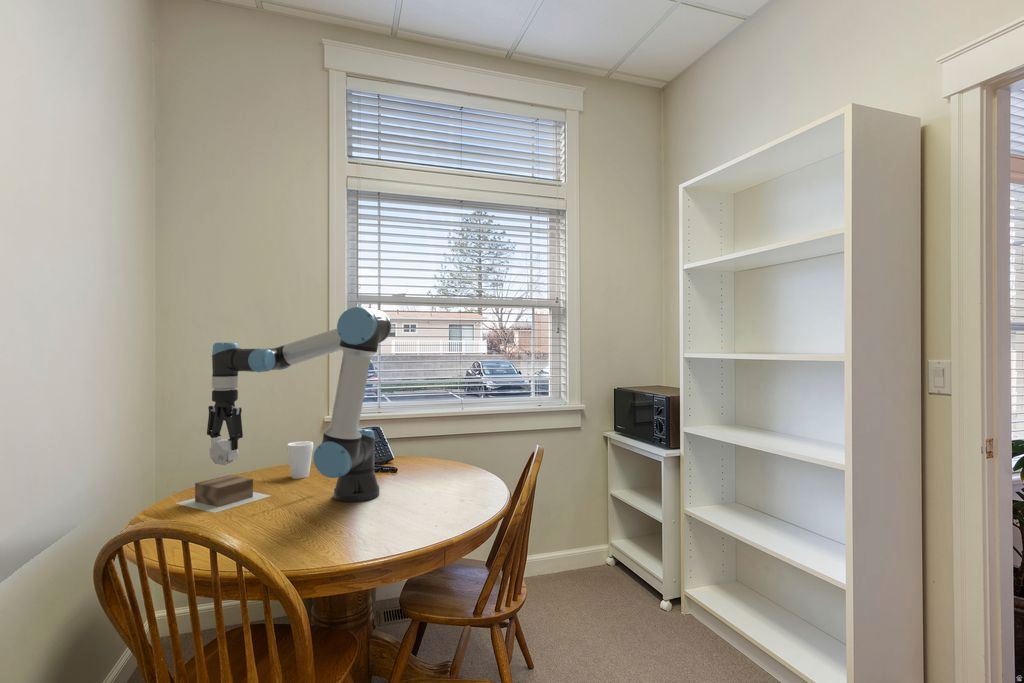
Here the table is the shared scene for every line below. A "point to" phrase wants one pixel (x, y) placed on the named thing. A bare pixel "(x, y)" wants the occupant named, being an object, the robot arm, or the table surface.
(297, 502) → the table surface
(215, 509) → the base plate
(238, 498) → the walnut block
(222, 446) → the die
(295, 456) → the foam cup
